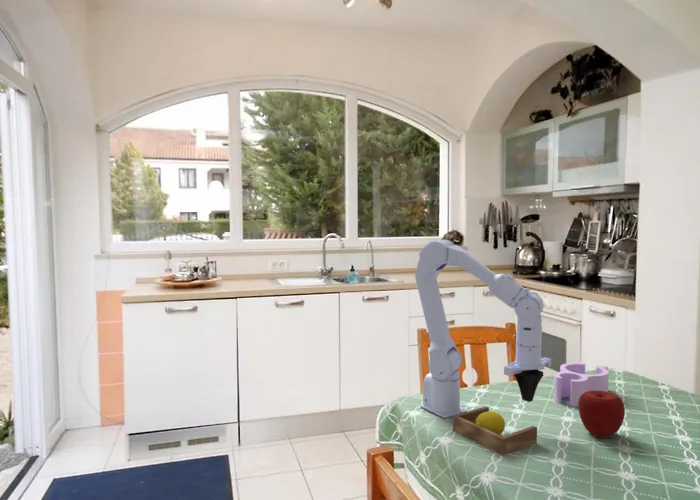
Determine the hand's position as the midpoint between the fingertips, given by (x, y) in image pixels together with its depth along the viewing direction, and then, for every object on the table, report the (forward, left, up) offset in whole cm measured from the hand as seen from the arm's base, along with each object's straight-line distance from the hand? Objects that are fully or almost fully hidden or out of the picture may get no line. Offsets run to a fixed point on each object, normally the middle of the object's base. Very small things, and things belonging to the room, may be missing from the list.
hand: (527, 400), depth 122 cm
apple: (+13, +10, -6) cm, 17 cm away
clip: (-6, +29, -7) cm, 30 cm away
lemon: (0, -8, -4) cm, 9 cm away
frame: (0, -11, -6) cm, 13 cm away
